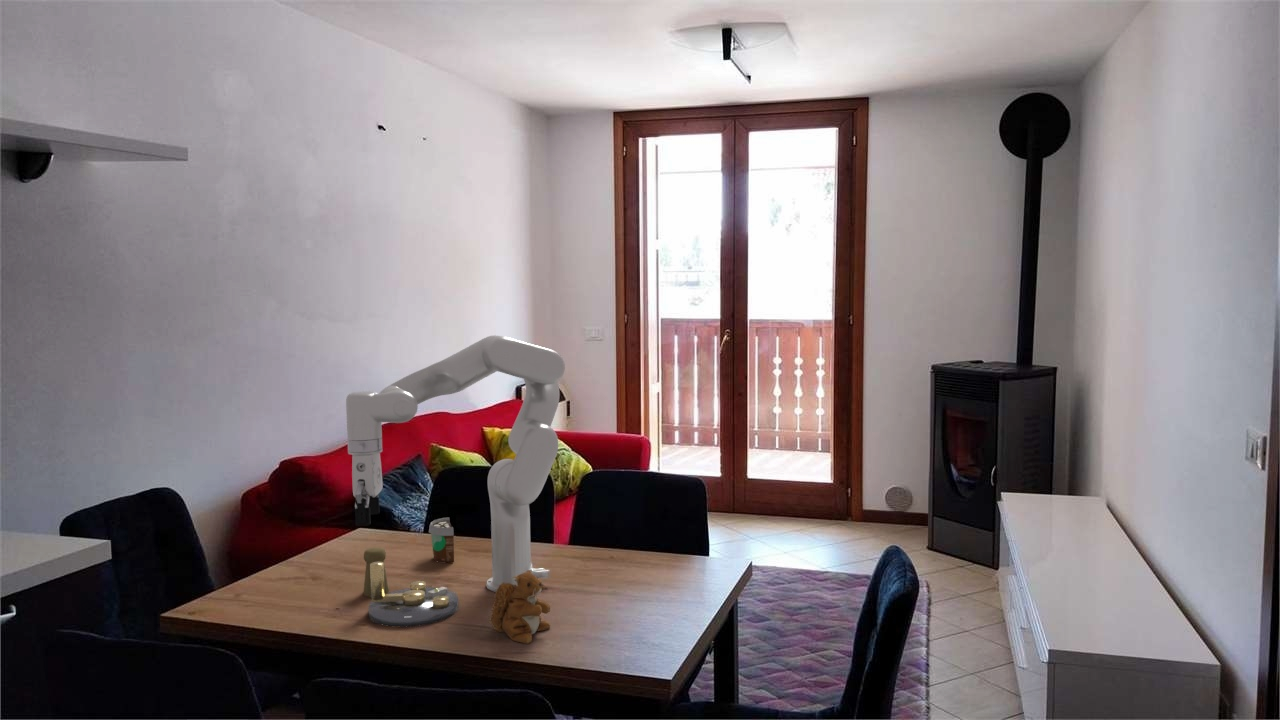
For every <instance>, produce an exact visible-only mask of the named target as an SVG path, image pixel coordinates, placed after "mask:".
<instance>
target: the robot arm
mask: <svg viewBox="0 0 1280 720" xmlns="http://www.w3.org/2000/svg"><path fill="white" fill-rule="evenodd" d="M565 364H566V363H565V361H564V359H563V357H562V355H560V354H559V353H558V352H557V351H556V350H553V349H550V348H546V347H542V346H539V345H535V344H532V343H529V342H528V343H527V342H525V341H522V340H517V339H515V338H512V337H508V336H503V335H496V334H495V335H489V336H486V337H484V338H482V339H480V340H478V341H476V342H474V343H472V344H471V345H469V346H467V347H465V348H464V349H462V350H460V351H458V352H456V353H453V354H452V355H450V356H448V357H446V358H443V359H442V360H440V361H438V362H437V361H436V362H435V363H433V364H430V365H428V366H427V367H425V368H422V369H419V370H417V371H414V372H413V373H411V374H408V375H406V376H405V377H403V378H401V379H399V380H396V381H395V382H393V383H391V384H389V385H388V386H386V387H384V388H383V389H382V390H381V391H380V392H379V393H378V392H377V391H370V390H369V391H367V390H366V391H363V390H362V391H355V392H351V393H349V394H348V395H347V396H346V400H345V408H346V409H345V410H346V431H347V432H346V435H347V439H346V440H347V454H348V455H352V457H351V458H352V461H351V462H352V463H351V465H352V466H351V469H352V471H351V478H352V480H351V481H352V483H351V484H352V493H353V494H352V495H353V497H354V498H355V500H354V516H355V519H354V523H355V526H356V527H363V526H364V527H367V526H370V525H371V523H372V522H371V515H379V514H380V497H379V496H380V495H379V494H380V493H381V491H382V490H383V488H384V487H383V486H384V483H383V473H382V472H383V471H382V469H383V468H382V461H381V460H382V459H381V453H382V452H383V430H382V424H383V423H392V424H394V423H395V424H402V423H407V422H409V421H410V420H412V419H413V418H415V416H416V414H417V412H418V407H419V405H420V404H422V403H424V402H425V401H429V400H430V399H434V398H436V397H439V396H448V395H452V394H453V395H454V394H456V393H457V394H458V393H459V392H462V391H464V390H466V389H467V388H469V387H471V386H472V385H474V384H476V383H478V382H480V381H481V380H483V379H485V378H487V377H489V376H491V375H492V374H494V373H496V372H498V373H499V372H500V373H502V374H506V375H509V376H512V377H516V378H519V379H523V380H524V384H525V395H524V399H523V402H522V404H521V407H520V410H519V412H518V414H517V416H516V419H515V421H514V422H513V425H512V428H511V430H510V432H509V435H508V438H507V440H508V441H507V442H508V446H509V448H510V451H512V452H513V453H514V454H515V457H514V459H513V458H503V459H501V460H500V459H499V460H498V461H496V462H495V463H494V464H493V465H492V466H491V468H490V469H489V471H488V475H487V492H488V497H489V503H490V520H491V521H490V523H491V524H490V531H491V568H492V569H491V570H492V573H491V574H492V576H491V577H490V578H488V579H487V580H486V584H485V585H486V588H487V589H488V590H489V591H490V592H493V593H494V592H495V593H496V591H497V589H498V587H499V585H501V584H502V583H503V582H504V583H510V584H513V585H515V584H514V582H513V581H512V577H517V576H518V575H520V574H522V573H524V572H527V571H528V570H529V571H531V573H532V574H533V575H534V576H535V577H537V578H538V579H541V578H542V579H548V578H549V579H550V569H545V567H541V568H540V567H539V568H535V567H533V562H532V556H531V553H532V552H531V516H530V515H531V513H530V504H532V503H533V502H535V501H536V499H538V497H539V495H540V494H541V493H542V491H543V489H544V486H545V484H546V482H547V479H548V476H549V474H550V472H551V469H552V468H553V465H554V463H555V459H556V458H557V455H558V451H559V437H558V434H557V432H556V431H555V430H554V429H553V428H552V424H553V421H554V418H555V415H556V412H557V411H558V410H557V409H558V407H559V403H560V385H559V381H560V380H561V379H562V377H563V376H564V373H565V371H566V370H565V369H566V367H565Z"/></svg>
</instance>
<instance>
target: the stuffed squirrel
mask: <svg viewBox="0 0 1280 720" xmlns="http://www.w3.org/2000/svg"><path fill="white" fill-rule="evenodd" d="M512 581H513V582H514V584H515V585H513V584H510V583H504V582H503V583H502V584H501V585H499V587H498V589H497V591H496V592H495V594H494V602H493V606H492V609H491V617H490V619H489V620H488V621H489V622H491V625H492V627H493V629H494V630H496V632H499V633H505V634H506V635H507V636H508V637H509V638H510V639H511V640H512V641H514V642H517V643H521V644H527V645H528V644H530V643H531V642H532V640H533V635H534V634H536V632H541V631H544V630H549V629H550V628H551V623H550V622H549V621H547V620H542V616H541V614H548V613H550V612H551V606H550V605H549V603H548V602H546V601H544V600H542V599H539V598H538V595H539V594H540V593H541V592H542V591H544V590H545V589H546V587H545V584H543V583H542V581H541V580H540V578H537V577H535V576H534V575H533V574H532V573H531V571H529V570H528V571H527V572H524V573H522V574H520V575H518V576H517V577H512Z"/></svg>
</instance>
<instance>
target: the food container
mask: <svg viewBox="0 0 1280 720" xmlns="http://www.w3.org/2000/svg"><path fill="white" fill-rule="evenodd" d="M454 532H455V531H454V527H453V526H452V523H451V522H450V517H442V518H437V519H434V520H433V521H431V522H430V524H429V528H428V533H429V534H431V535H430V536H431V543H432V544H431V545H432V554H433V560H434V562H436V561H438V562H437V563H439V562H448V563H447V564H450V563H449V562H454V563H455V543H454V542H455V540H454V539H455V538H454V536H455V533H454Z"/></svg>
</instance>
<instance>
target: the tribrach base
mask: <svg viewBox="0 0 1280 720" xmlns="http://www.w3.org/2000/svg"><path fill="white" fill-rule="evenodd" d="M410 590H423V591H424V592H425V602H423V603H421V604H418V605H405V604H403V601H390V602H373V600H372V601H370V602H369V604H368V617H369V619H370V621H372V622H373V621H374V622H373V623H375V622H376V623H375V624H377V623H378V624H377V625H380V624H383V625H382V626H385V625H388V626H387V627H392V626H400V627H399V628H409V627H410V626H411V627H419V625H420V626H426V625H429V624H434V623H437V622H441V621H442V620H446V619H448V618H450V617H451V616H453V615H454V614H455V613H457V611H458V609H459V596H458V595H457V594H456V592H454V591H452V590H449V589H448V587H445V586H440V587H430V586H429V587H428V586H427V584H426V581H424V580H417V581H412V582H410V586H409V588H402V589H398V590H397V589H396V590H392V591H391V592H388V593H386V594H395V593H404V592H406V591H410ZM406 626H407V627H406Z"/></svg>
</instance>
